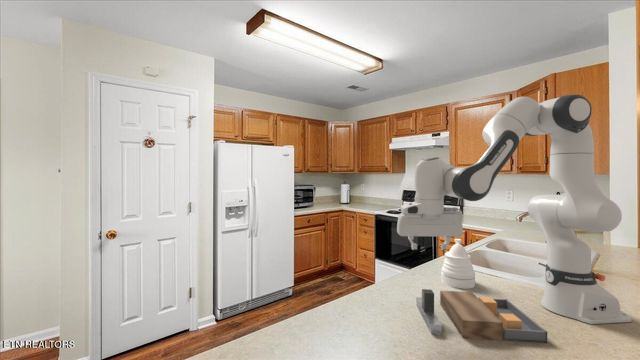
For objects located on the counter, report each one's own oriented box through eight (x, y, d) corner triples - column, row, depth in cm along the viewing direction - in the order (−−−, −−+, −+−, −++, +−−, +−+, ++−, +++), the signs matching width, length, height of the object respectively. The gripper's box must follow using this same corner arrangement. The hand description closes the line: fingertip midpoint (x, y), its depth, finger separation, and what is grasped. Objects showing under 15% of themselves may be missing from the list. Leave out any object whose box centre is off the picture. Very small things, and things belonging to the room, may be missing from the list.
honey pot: (440, 275, 127) (441, 236, 126) (472, 279, 122) (473, 238, 122) (442, 285, 115) (442, 242, 114) (477, 290, 110) (477, 245, 110)
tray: (506, 307, 96) (506, 299, 96) (547, 342, 76) (547, 332, 76) (471, 306, 97) (471, 297, 97) (502, 340, 77) (502, 329, 77)
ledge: (471, 306, 97) (471, 292, 97) (502, 340, 77) (502, 322, 77) (440, 304, 98) (440, 290, 98) (462, 337, 78) (463, 320, 78)
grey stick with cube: (425, 306, 98) (425, 280, 98) (441, 335, 80) (442, 304, 80) (416, 305, 98) (416, 280, 98) (431, 334, 80) (431, 304, 80)
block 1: (478, 308, 94) (490, 309, 94) (483, 314, 90) (496, 314, 90) (478, 296, 94) (490, 297, 94) (483, 302, 90) (497, 302, 90)
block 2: (498, 326, 83) (512, 327, 83) (506, 334, 79) (521, 334, 79) (499, 313, 83) (513, 313, 83) (506, 320, 79) (521, 320, 79)
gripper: (458, 206, 92) (458, 247, 93) (395, 206, 95) (396, 246, 95) (466, 208, 86) (466, 252, 87) (399, 208, 88) (399, 251, 89)
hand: (429, 249), depth 91 cm, fingers open, 8 cm apart
